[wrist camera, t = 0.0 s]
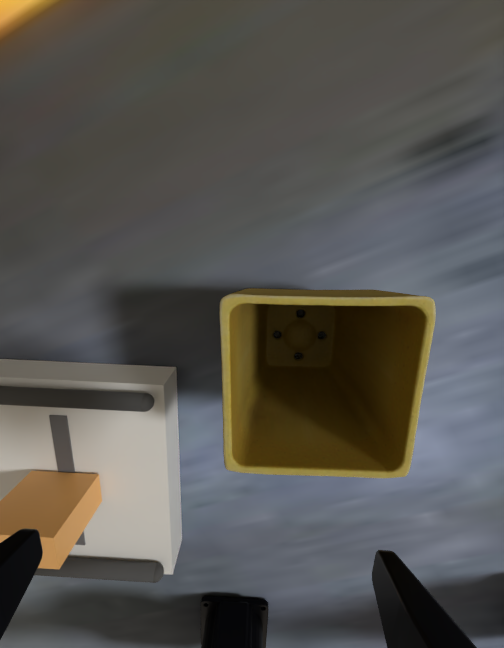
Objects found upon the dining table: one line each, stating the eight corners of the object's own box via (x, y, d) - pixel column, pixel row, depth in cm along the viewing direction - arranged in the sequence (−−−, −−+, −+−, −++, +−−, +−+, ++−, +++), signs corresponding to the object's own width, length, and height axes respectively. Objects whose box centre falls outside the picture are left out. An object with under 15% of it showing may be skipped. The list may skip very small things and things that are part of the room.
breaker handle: (102, 500, 22) (59, 569, 17) (36, 497, 22) (-24, 564, 17) (99, 474, 21) (53, 537, 17) (31, 470, 21) (-33, 532, 17)
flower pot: (237, 387, 23) (223, 475, 14) (236, 274, 20) (218, 294, 12) (352, 389, 22) (409, 480, 14) (363, 274, 20) (441, 296, 11)
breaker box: (182, 539, 27) (172, 575, 24) (21, 529, 27) (-9, 564, 24) (176, 367, 22) (163, 385, 19) (-16, 358, 23) (-58, 375, 20)
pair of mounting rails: (166, 570, 24) (161, 587, 23) (-3, 560, 24) (-16, 575, 23) (156, 390, 20) (150, 399, 18) (-48, 380, 20) (-67, 388, 19)
